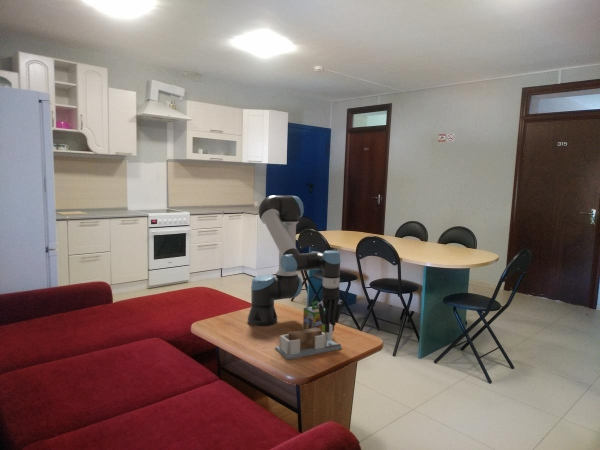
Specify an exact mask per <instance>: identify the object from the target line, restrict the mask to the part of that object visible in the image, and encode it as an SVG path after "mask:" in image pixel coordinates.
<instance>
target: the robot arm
mask: <svg viewBox="0 0 600 450" xmlns="http://www.w3.org/2000/svg"><path fill="white" fill-rule="evenodd" d="M304 212H305V211H304V203H303V201H302V200H301V198H300V197H299V196H296V195H268V196H267V197H265V198H264V199H262V201H261V202H260V204H259V207H258V216H259V219H260V222H262V224H265V226H266V228H267V230H268V232H269V234H270V236H271V238H272V240H273V242H274V243H275V246H276V247H277V249H278V270H277V271H276V272H275V275H273V274H263V275H262V274H261V275H258V276H255V277H253V278H252V280H251V287H250V288H251V298H250V299H251V302H250V303H251V305H250V309H249V313H248V316H247V323H249V325H252V326H256V327H258V326H259V327H266V326H273V325H274V324H275V325H276V323H277V322H278V315H277V312H276V309H275V308H276V307H275V301H279V300H286V299H293V298H297V297H299V295H301V292H302V289H303V281H302V278H301V276H300V275H299V272H301V271H312V270H320V271H321V272H322V279H321V280H322V283H321V284H322V285H321V286H322V287H321V295H322V297H321V299H320V301H319V303H317V304H316V306H318V308H319V313H320V318H321V323H323V324H324V325H325V331H326V334H327V339H329V340H332V341H333V336H334V335H333V332H335V326H336V324H337V323H339V320H340V317H341V311H342V308H343V305H344V300H342V299H340V287H339V286H340V278H341V276H340V275H341V262H342V261H341V253H340V251H338V250H332V249H331V250H330V249H329V250H325V251H323V252H321V251H310V252H307V253H300V252H299V250H298V247H297V245H296V241H297V239H296V237H297V231H296V230H297V224H298V223H300V222H299V221H300V218H302V217H303V214H304ZM324 308H325V313H324Z"/></svg>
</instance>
